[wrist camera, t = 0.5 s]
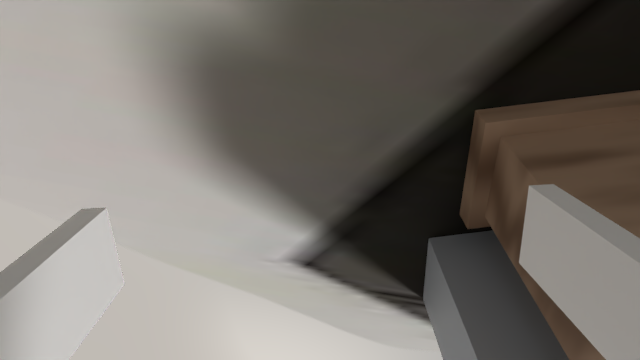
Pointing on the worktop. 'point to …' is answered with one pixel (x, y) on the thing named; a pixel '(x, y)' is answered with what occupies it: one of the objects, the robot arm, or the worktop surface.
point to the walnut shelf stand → (554, 176)
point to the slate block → (483, 303)
